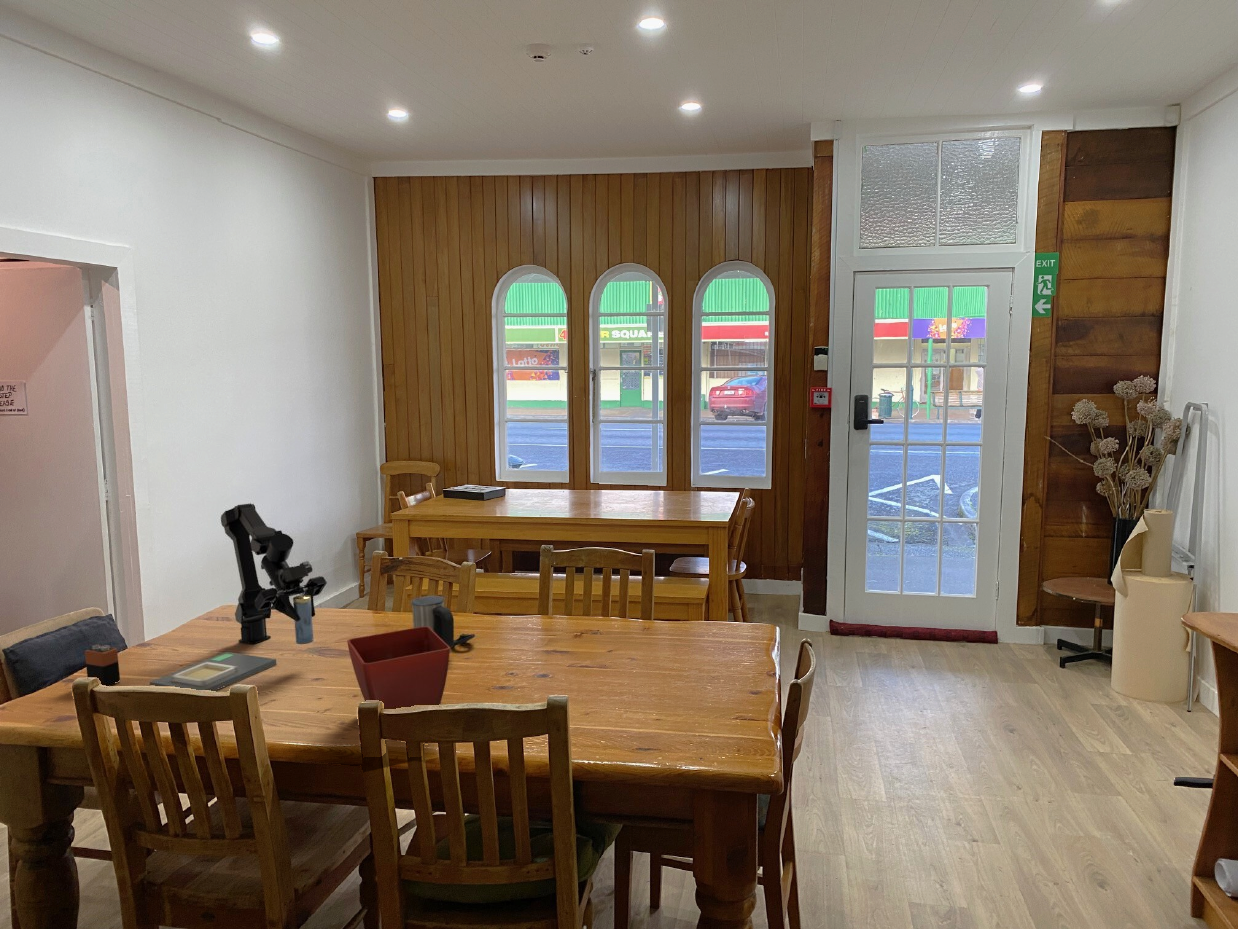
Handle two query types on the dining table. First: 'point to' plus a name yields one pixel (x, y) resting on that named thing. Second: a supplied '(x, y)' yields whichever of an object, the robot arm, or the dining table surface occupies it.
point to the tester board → (216, 672)
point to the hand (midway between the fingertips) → (306, 618)
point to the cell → (303, 619)
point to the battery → (103, 664)
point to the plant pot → (401, 667)
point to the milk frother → (436, 619)
